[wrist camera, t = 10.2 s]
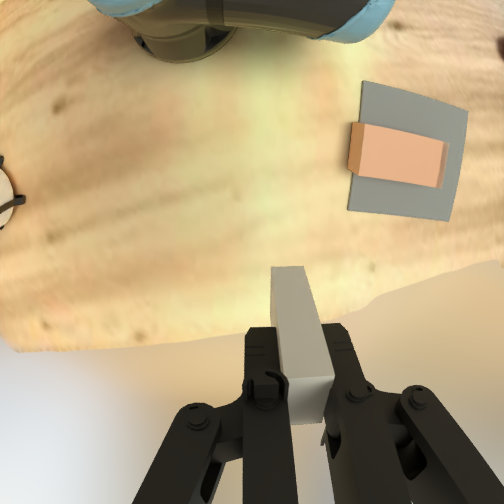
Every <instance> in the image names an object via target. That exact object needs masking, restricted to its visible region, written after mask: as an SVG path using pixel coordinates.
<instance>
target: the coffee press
mask: <svg viewBox="0 0 504 504" xmlns="http://www.w3.org/2000/svg"><path fill="white" fill-rule="evenodd" d="M3 161H4V157H3V156H1V155H0V167H1V165H2V163H3ZM24 203H25V195H13V190H12V186H11V183H10V181H9V179H8V177H7V175H6V174H5V173H4V172H3V171H2V170H1V169H0V230H2V229H3V227H4V224H5V223H7V221H8V220H9V219H10V217H11V214H12V211H13V206H17V205H22V204H24Z"/></svg>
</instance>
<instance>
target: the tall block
mask: <svg viewBox="0 0 504 504" xmlns="http://www.w3.org/2000/svg"><path fill="white" fill-rule="evenodd" d="M449 144H450V143H447V142H443V141H440V140H436V139H432V138H428V137H424V136H420V135H416V134H412V133H408V132H403V131H399V130H394V129H390V128H385V127H380V126H374V125H369V124H363V123H357V122H353V125H352V134H351V143H350V152H349V160H348V167H347V168H348V169H349V170H351V171H352V172H354V173H355V174H357V175H358V176H365V177H372V178H380V179H387V180H393V181H400V182H406V183H412V184H418V185H424V186H429V187H435V188H440V189H442V185H443V180H444V174H445V169H446V163H447V157H448V150H449Z"/></svg>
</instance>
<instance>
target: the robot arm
mask: <svg viewBox="0 0 504 504" xmlns="http://www.w3.org/2000/svg"><path fill="white" fill-rule="evenodd" d="M88 1H89V2H90V3H91V4H93V5H94V6H95V7H96V8H97V10H98V11H99V12H101V13H102V14H104V15H107V16H111V17H113V18H115V19H117V20H118V21H120V22H122V23H124V24H125V25H127V26H129V27H130V28H131V30H132V34H133V36H134V38H135V40H136V42H137V43H138V44H139V46H140V47H141V48H142V49H143V50H144V51H146V52H147V53H148V54H150V55H152V56H154V57H156V58H158V59H160V60H163V61H167V62H173V63H187V62H193V61H197V60H200V59H203V58H205V57H208V56H210V55H212V54H213V53H215V52H217V51H218V50H219V49H221V48H222V47H223V46H224V45H225V44H226V43H227V42H228V41H229V40H230V39H231V37H232V36H233V34H234V33H235V31H236V29H237V27H245V28H254V29H263V30H270V31H277V32H283V33H289V34H295V35H300V36H305V37H307V38H309V39H312V40H328V41H333V42H338V43H343V44H350V43H357V42H359V41H362V40H364V39H366V38H367V37H369V36H370V35H371V34H372V33H374V32H375V31H376V30H377V29H378V28H379V26H380V25H381V24H382V23H383V21H384V20H385V19H386V17H387V16H388V14H389V12H390V11H391V9H392V7H393V5H394V2H395V0H88ZM270 319H271V327H250V329H249V330H248V332H247V334H246V335H245V357H244V358H245V360H244V361H245V362H244V380H243V384H242V390H243V392H242V394H241V396H240V397H239V398H238V399H237V400H236V401H234V402H233V403H230V404H228V405H225V406H221V407H217V408H213V407H212V406H210V405H208V404H205V403H192V404H188V405H186V406H185V407H183V408H181V409H180V410H179V412H178V413H177V415H176V416H175V418H174V420H173V422H172V424H171V426H170V428H169V430H168V432H167V434H166V436H165V438H164V440H163V442H162V445H161V447H160V448H159V450H158V452H157V454H156V456H155V458H154V461H153V462H152V465H151V466H150V469H149V470H148V473H147V474H146V477H145V479H144V481H143V482H142V485H141V487H140V488H139V490H138V493H137V494H136V497H135V498H134V501H133V502H132V504H211V503H212V500H213V498H214V495H215V492H216V489H217V487H218V484H219V481H220V478H221V475H222V472H223V469H224V466H225V464H226V462H228V461H232V460H235V459H239V458H243V504H298V495H297V485H296V474H295V464H294V456H293V446H292V436H291V427H290V425H303V424H314V423H322V420H323V417H324V419H325V423H326V427H325V430H324V433H323V436H322V439H321V446H323V445H324V443H325V445H326V451H327V457H328V463H329V469H330V475H331V481H332V487H333V493H334V500H335V504H412V502H413V504H504V486H503V485H502V484H501V482H500V481H499V479H498V478H497V476H496V475H495V474H494V472H493V471H492V469H491V468H490V467H489V465H488V464H487V463H486V461H485V460H484V458H483V457H482V456H481V454H480V453H479V452H478V450H477V449H476V447H475V446H474V445H473V443H472V442H471V441H470V439H469V438H468V437H467V436H466V434H465V433H464V432H463V430H462V429H461V428H460V426H459V425H458V424H457V423H456V421H455V420H454V419H453V417H452V416H451V415H450V413H449V412H448V411H447V410H446V409H445V407H444V406H443V405H442V403H441V402H440V401H439V400H438V398H437V397H436V396H435V394H434V393H433V392H432V391H431V390H429V389H428V388H426V387H424V386H420V385H413V386H409V387H407V388H406V389H405V390H403V392H402V394H396V393H388V392H382V391H379V390H377V389H375V387H374V386H373V385H372V384H371V383H369V382H368V381H366V379H365V377H364V375H363V372H362V369H361V366H360V363H359V361H358V358H357V355H356V352H355V350H354V347H353V344H352V342H351V339H350V336H349V334H348V331H347V330H346V329H345V328H344V327H343V326H342V325H341V324H340V323H331V324H321V323H320V319H319V316H318V313H317V309H316V306H315V302H314V299H313V296H312V292H311V289H310V286H309V283H308V279H307V276H306V273H305V270H304V266H288V267H271V294H270ZM411 501H412V502H411Z"/></svg>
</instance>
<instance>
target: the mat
mask: <svg viewBox="0 0 504 504" xmlns="http://www.w3.org/2000/svg"><path fill="white" fill-rule="evenodd" d="M467 119H468V111H466V110H463V109H461V108H458V107H455V106H452V105H450V104H447V103H444V102H441V101H438V100H435V99H432V98H429V97H425V96H422V95H419V94H415V93H412V92H408V91H405V90H401V89H397V88H393V87H390V86H385V85H381V84H377V83H373V82H368V81H362V93H361V105H360V116H359V123H363V124H369V125H374V126H380V127H385V128H390V129H394V130H399V131H403V132H408V133H412V134H416V135H420V136H424V137H428V138H432V139H436V140H440V141H443V142H447V143H450V144H449V150H448V157H447V163H446V169H445V174H444V180H443V185H442V189H440V188H435V187H429V186H424V185H418V184H412V183H406V182H400V181H393V180H387V179H380V178H372V177H365V176H358V175H357V174H355V173H354V172H353V175H352V182H351V188H350V195H349V201H348V207H347V210H348V211H357V212H368V213H378V214H387V215H397V216H406V217H414V218H423V219H431V220H439V221H447V222H449V220H450V216H451V212H452V207H453V203H454V199H455V194H456V189H457V185H458V180H459V174H460V169H461V163H462V157H463V151H464V144H465V137H466V129H467Z"/></svg>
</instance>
